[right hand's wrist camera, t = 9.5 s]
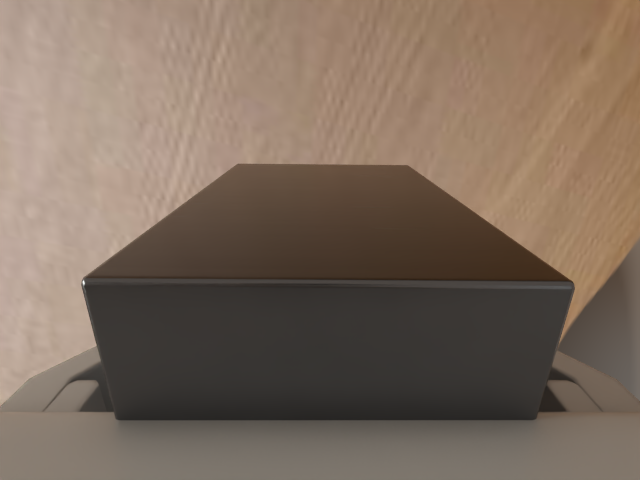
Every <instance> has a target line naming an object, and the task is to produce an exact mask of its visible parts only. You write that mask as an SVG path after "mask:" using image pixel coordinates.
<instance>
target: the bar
mask: <svg viewBox="0 0 640 480" xmlns="http://www.w3.org/2000/svg"><path fill="white" fill-rule="evenodd" d="M82 289H83V293H84V297H85V301H86V305H87V309H88V313H89V317H90V321H91V324H92V328H93V332H94V336H95V340H96V344H97V348H98V352H99V356H100V360H101V364H102V368H103V372H104V376H105V379H106V383H107V387H108V391H109V395H110V399H111V403H112V407H113V411H114V415H115V419H117V420H535V419H537V415H538V412H539V408H540V405H541V402H542V398H543V395H544V391H545V388H546V385H547V381H548V378H549V374H550V371H551V368H552V364H553V361H554V358H555V354H556V351H557V347H558V344H559V341H560V337H561V334H562V330H563V327H564V324H565V320H566V317H567V313H568V310H569V307H570V303H571V300H572V297H573V293H574V290H575V287H574V283H573V282H572V281H571V280H570V279H568V278H567V277H565V276H564V275H563V274H561V273H560V272H558V271H557V270H555V269H554V268H553V267H551V266H550V265H548V264H547V263H546V262H544V261H543V260H541V259H540V258H538V257H537V256H536V255H534V254H533V253H531V252H530V251H529V250H527V249H526V248H524V247H523V246H521V245H520V244H519V243H517V242H516V241H514V240H513V239H512V238H510V237H509V236H507V235H506V234H504V233H503V232H502V231H500V230H499V229H497V228H496V227H495V226H493V225H492V224H490V223H489V222H487V221H486V220H485V219H483V218H482V217H480V216H479V215H478V214H476V213H475V212H473V211H472V210H470V209H469V208H468V207H466V206H465V205H463V204H462V203H461V202H459V201H458V200H456V199H455V198H453V197H452V196H451V195H449V194H448V193H446V192H445V191H444V190H442V189H441V188H439V187H438V186H436V185H435V184H434V183H432V182H431V181H429V180H428V179H427V178H425V177H424V176H422V175H421V174H419V173H418V172H417V171H415V170H414V169H412V168H411V167H410V166H408V165H316V164H237V165H235V166H234V167H233V168H231V169H230V170H229V171H227V172H226V173H224V174H223V175H222V176H220V177H219V178H218V179H216V180H215V181H214V182H212V183H211V184H210V185H208V186H207V187H206V188H204V189H203V190H201V191H200V192H199V193H197V194H196V195H195V196H193V197H192V198H191V199H189V200H188V201H187V202H185V203H184V204H183V205H181V206H180V207H178V208H177V209H176V210H174V211H173V212H172V213H170V214H169V215H168V216H166V217H165V218H164V219H162V220H161V221H159V222H158V223H157V224H155V225H154V226H153V227H151V228H150V229H149V230H147V231H146V232H145V233H143V234H142V235H141V236H139V237H138V238H136V239H135V240H134V241H132V242H131V243H130V244H128V245H127V246H126V247H124V248H123V249H122V250H120V251H119V252H118V253H116V254H115V255H113V256H112V257H111V258H109V259H108V260H107V261H105V262H104V263H103V264H101V265H100V266H99V267H97V268H96V269H95V270H93V271H92V272H90V273H89V274H88V275H86V276H85V277H84V278H83V280H82Z"/></svg>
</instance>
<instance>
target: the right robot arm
mask: <svg viewBox="0 0 640 480" xmlns="http://www.w3.org/2000/svg"><path fill="white" fill-rule="evenodd" d="M0 480H640V401H639V400H638V399H637V398H636V397H634V396H633V395H632V394H631V393H630V392H629V391H628V390H627V389H626V388H625V387H624V386H623V385H622V384H621V383H620V382H619V381H618V380H617V379H615V378H613V377H611V376H609V375H607V374H605V373H602V372H600V371H598V370H596V369H594V368H592V367H590V366H588V365H586V364H584V363H582V362H580V361H578V360H576V359H573V358H571V357H569V356H567V355H565V354H563V353H561V352H559V351H556V354H555V358H554V361H553V364H552V368H551V371H550V374H549V378H548V381H547V385H546V388H545V391H544V395H543V398H542V402H541V405H540V408H539V412H538V415H537V419H535V420H117V419H115V415H114V411H113V407H112V403H111V399H110V395H109V391H108V387H107V383H106V379H105V376H104V372H103V368H102V364H101V360H100V356H99V352H98V348H97V346H96V347H93V348H91V349H89V350H87V351H85V352H83V353H81V354H79V355H77V356H75V357H73V358H71V359H69V360H67V361H65V362H63V363H61V364H59V365H56V366H54V367H52V368H50V369H48V370H46V371H44V372H42V373H40V374H38V375H36V376H34V377H32V378H30V379H29V380H28V381H26V382H25V383H24V384H23V385H22V386H21V387H20V388H19V389H18V390H17V391H16V392H15V393H14V394H13V395H12V396H11V397H10V398H9V399H8V400H7V401H6V402H5V403H4V404H3V405H2V406H1V407H0Z"/></svg>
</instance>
